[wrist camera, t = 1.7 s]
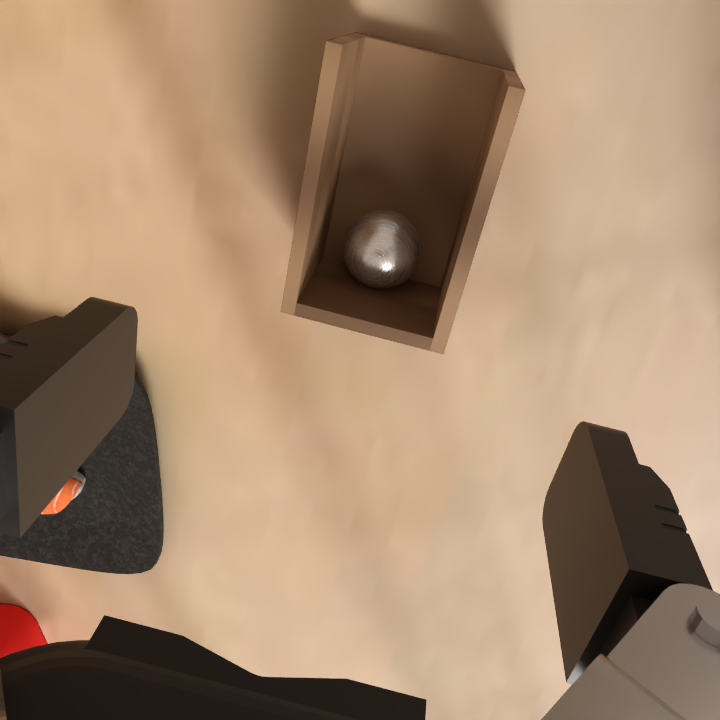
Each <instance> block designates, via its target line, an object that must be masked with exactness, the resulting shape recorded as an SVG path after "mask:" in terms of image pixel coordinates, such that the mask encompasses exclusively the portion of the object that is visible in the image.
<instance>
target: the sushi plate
mask: <svg viewBox="0 0 720 720" xmlns="http://www.w3.org/2000/svg"><path fill="white" fill-rule="evenodd" d="M10 337H11V336H10V335H4V334H2V333H1V332H0V344H2V343H3V342H6V343H7V341H8V339H9V338H10ZM163 533H164V526H163V505H162V491H161V479H160V468H159V457H158V448H157V440H156V432H155V425H154V419H153V414H152V409H151V405H150V402H149V399H148V395H147V392H146V390H145V388H144V386H143V384H142V382H141V380H140V379H139V377H138V376H137V375H136V373H135V379H134V388H133V392H132V396H131V399H130V402H129V405H128V407H127V409H126V411H125V412H124V414H123V415H122V417H121V418H120V419H119V420H118V422H117V423H116V424H115V425H114V426H113V428H112V429H111V430H110V431H109V432H108V434H107V435H106V436H105V437H104V438H103V440H102V441H101V442H100V443H99V444H98V446H97V447H96V448H95V449H94V450H93V452H92V453H91V454H90V455H89V456H88V458H87V459H86V460H85V461H84V462H83V464H82V465H81V466H80V467H79V468H78V470H77V471H76V472H75V473H74V474H73V476H72V477H71V478H70V479H69V480H68V482H67V483H66V484H65V485H64V486H63V488H62V489H61V490H60V491H59V492H58V494H57V495H56V496H55V497H54V498H53V500H52V501H51V502H50V503H49V504H48V506H47V507H46V508H45V509H44V510H43V512H42V513H41V514H40V515H39V516H38V518H37V519H36V520H35V521H34V522H33V523H32V525H31V526H30V527H29V528H28V529H27V531H26V532H25V533H24V534H23V535H22V537H21V538H18V537H14V536H10V535H7V534H3V533H0V555H1V556H7V557H12V558H18V559H24V560H30V561H35V562H41V563H47V564H53V565H59V566H65V567H71V568H77V569H83V570H91V571H98V572H106V573H116V574H134V573H142V572H145V571H148V570H151V569H152V568H153V567H154V565H155V564H156V563H157V561H158V559H159V557H160V554H161V552H162V546H163Z"/></svg>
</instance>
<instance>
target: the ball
mask: <svg viewBox="0 0 720 720" xmlns="http://www.w3.org/2000/svg"><path fill="white" fill-rule="evenodd" d="M343 254H344V260H345V263H346V265H347V267H348V269H349V271H350V272H351V274H352V275H353V276H354V277H355V278H356V279H357V280H358V281H360V282H361V283H363V284H365V285H367V286H369V287H373V288H380V289H385V288H391V287H394V286H397V285H399V284H401V283H403V282H404V281H406V280H407V279H408V278H409V277H410V276H411V275H412V274H413V272H414V271H415V269H416V268H417V266H418V263H419V260H420V256H421V242H420V238H419V235H418V232H417V230H416V229H415V227H414V226H413V224H412V223H411V222H410V221H409V220H408V219H407V218H406V217H404V216H403V215H401V214H399V213H397V212H394V211H390V210H374V211H371V212H368V213H366V214H364V215H362V216H360V217H359V218H358V219H357V220H356V221H355V222H354V223H353V224H352V225H351V226H350V228H349V230H348V231H347V233H346V236H345V239H344V244H343Z"/></svg>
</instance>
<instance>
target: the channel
mask: <svg viewBox="0 0 720 720" xmlns="http://www.w3.org/2000/svg"><path fill="white" fill-rule="evenodd" d="M524 93H525V88H524V86H523V84H522V82H521V80H520V78H519V76H518V74H517V72H515V71H511V70H507V69H501V68H497V67H493V66H489V65H485V64H481V63H477V62H473V61H469V60H465V59H461V58H457V57H452V56H448V55H444V54H440V53H436V52H432V51H428V50H424V49H420V48H416V47H412V46H408V45H404V44H399V43H395V42H391V41H387V40H383V39H379V38H375V37H371V36H368V35H364V34H360V33H356V32H355V33H352V34H348V35H345V36H342V37H338V38H335V39H331V40H328V41H326V44H325V50H324V56H323V62H322V68H321V74H320V80H319V86H318V92H317V98H316V104H315V109H314V115H313V121H312V127H311V133H310V139H309V145H308V151H307V157H306V163H305V169H304V175H303V181H302V187H301V193H300V199H299V205H298V211H297V217H296V223H295V229H294V235H293V241H292V247H291V253H290V258H289V264H288V270H287V276H286V282H285V288H284V294H283V300H282V306H281V312H283V313H286V314H290V315H294V316H298V317H302V318H306V319H310V320H313V321H317V322H321V323H325V324H329V325H333V326H336V327H340V328H344V329H348V330H352V331H356V332H360V333H363V334H367V335H371V336H375V337H379V338H383V339H386V340H390V341H394V342H398V343H402V344H406V345H410V346H413V347H417V348H421V349H425V350H429V351H433V352H436V353H440V354H444V351H445V347H446V344H447V341H448V338H449V334H450V331H451V328H452V325H453V322H454V318H455V315H456V312H457V309H458V306H459V302H460V299H461V296H462V293H463V289H464V286H465V283H466V280H467V277H468V273H469V270H470V267H471V264H472V260H473V257H474V254H475V251H476V248H477V244H478V241H479V238H480V235H481V232H482V228H483V225H484V222H485V219H486V215H487V212H488V209H489V206H490V203H491V199H492V196H493V193H494V190H495V187H496V183H497V180H498V177H499V174H500V170H501V167H502V164H503V161H504V158H505V154H506V151H507V148H508V145H509V141H510V138H511V135H512V132H513V129H514V125H515V122H516V119H517V116H518V113H519V109H520V106H521V103H522V100H523V96H524ZM374 210H390V211H394V212H397V213H399V214H401V215H403V216H404V217H406V218H407V219H408V220H409V221H410V222H411V223H412V224H413V226H414V227H415V229H416V230H417V232H418V235H419V238H420V242H421V256H420V260H419V263H418V266H417V268H416V269H415V271H414V272H413V274H412V275H411V276H410V277H409V278H408V279H407V280H406V281H404V282H403V283H401V284H399V285H397V286H394V287H391V288H385V289H380V288H373V287H369V286H367V285H365V284H363V283H361V282H360V281H358V280H357V279H356V278H355V277H354V276H353V275H352V274H351V272H350V271H349V269H348V267H347V265H346V263H345V260H344V254H343V244H344V239H345V236H346V233H347V231H348V230H349V228H350V226H351V225H352V224H353V223H354V222H355V221H356V220H357V219H358V218H359V217H360V216H362V215H364V214H366V213H368V212H371V211H374Z"/></svg>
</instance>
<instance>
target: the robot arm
mask: <svg viewBox="0 0 720 720" xmlns="http://www.w3.org/2000/svg"><path fill="white" fill-rule="evenodd" d="M137 324H138V318H137V312H136V310H135V308H134V307H131V306H127V305H123V304H119V303H115V302H111V301H107V300H103V299H99V298H95V297H90V298H88V299H87V300H85V301H84V302H83V303H82V304H80V305H79V306H78V307H76V308H75V309H74V310H73V311H71V312H70V313H69V314H67V315H66V316H65V317H64V318H62V317H58V316H53V317H50V318H47V319H44V320H41V321H38V322H35V323H32V324H29V325H26V326H25V327H24V328H22V329H21V330H20V331H18V332H17V333H15V334H14V335H13V336H11V337H10V338H9V339H8V341H7V343H6V342H3V343H2V344H0V533H3V534H7V535H10V536H14V537H18V538H21V537H22V535H23V534H24V533H25V532H26V531H27V529H28V528H29V527H30V526H31V525H32V523H33V522H34V521H35V520H36V519H37V518H38V516H39V515H40V514H41V513H42V512H43V510H44V509H45V508H46V507H47V506H48V504H49V503H50V502H51V501H52V500H53V498H54V497H55V496H56V495H57V494H58V492H59V491H60V490H61V489H62V488H63V486H64V485H65V484H66V483H67V482H68V480H69V479H70V478H71V477H72V476H73V474H74V473H75V472H76V471H77V470H78V468H79V467H80V466H81V465H82V464H83V462H84V461H85V460H86V459H87V458H88V456H89V455H90V454H91V453H92V452H93V450H94V449H95V448H96V447H97V446H98V444H99V443H100V442H101V441H102V440H103V438H104V437H105V436H106V435H107V434H108V432H109V431H110V430H111V429H112V428H113V426H114V425H115V424H116V423H117V422H118V420H119V419H120V418H121V417H122V415H123V414H124V412H125V411H126V409H127V407H128V405H129V402H130V399H131V396H132V392H133V388H134V379H135V360H136V342H137ZM678 514H679V509H678V507H677V505H676V502H675V500H674V497H673V495H672V493H671V490H670V489H669V487H668V486H667V485H666V484H665V483H664V482H663V481H662V480H661V479H660V478H659V476H658V475H657V474H656V473H655V472H654V471H653V470H652V469H651V468H650V467H648V466H644V465H640V464H639V463H638V461H637V458H636V455H635V453H634V450H633V447H632V445H631V442H630V439H629V437H628V435H627V433H626V432H624V431H620V430H616V429H612V428H608V427H604V426H600V425H596V424H592V423H588V422H581V423H579V424H578V426H577V427H576V429H575V430H574V432H573V434H572V437H571V439H570V441H569V443H568V446H567V448H566V450H565V453H564V455H563V457H562V459H561V462H560V464H559V466H558V468H557V471H556V473H555V475H554V478H553V480H552V482H551V484H550V487H549V489H548V492H547V495H546V498H545V503H544V508H543V530H544V536H545V543H546V550H547V556H548V563H549V570H550V576H551V583H552V590H553V596H554V603H555V610H556V616H557V623H558V630H559V636H560V643H561V650H562V656H563V663H564V670H565V676H566V683H570V684H572V685H571V687H570V688H569V689H568V690H567V691H566V692H565V693H564V695H563V696H562V697H561V698H560V699H559V700H558V701H557V702H556V704H555V705H554V706H553V707H552V708H551V709H550V710H549V711H548V713H547V714H546V715H545V716H544V717H543V718H542V719H541V720H720V594H718V593H716V592H714V591H713V590H712V587H711V585H710V582H709V580H708V578H707V575H706V573H705V571H704V568H703V566H702V564H701V561H700V559H699V556H698V554H697V552H696V549H695V547H694V545H693V542H692V540H691V538H690V535H689V534H687V533H686V530H687V528H686V526H685V523H684V521H683V519H682V516H681V515H678ZM425 714H426V700H425V699H421V698H418V697H414V696H410V695H406V694H402V693H399V692H395V691H391V690H387V689H383V688H380V687H376V686H372V685H368V684H364V683H360V682H357V681H353V680H349V679H329V678H282V677H261V676H258V675H255V674H252V673H250V672H248V671H246V670H245V669H243V668H241V667H239V666H237V665H235V664H234V663H232V662H230V661H228V660H226V659H224V658H223V657H221V656H219V655H217V654H215V653H213V652H212V651H210V650H208V649H206V648H204V647H202V646H201V645H199V644H197V643H195V642H193V641H191V640H189V639H188V638H186V637H184V636H181V635H178V634H174V633H170V632H166V631H162V630H158V629H155V628H151V627H147V626H143V625H139V624H136V623H132V622H128V621H124V620H120V619H117V618H113V617H109V616H105V615H104V617H103V619H102V620H101V622H100V624H99V625H98V627H97V629H96V631H95V632H94V634H93V636H92V637H91V639H90V640H78V641H66V642H56V643H51V644H45V645H40V646H35V647H31V648H28V649H24V650H21V651H17V652H14V653H11V654H9V655H6V656H3V657H1V658H0V720H425Z"/></svg>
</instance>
